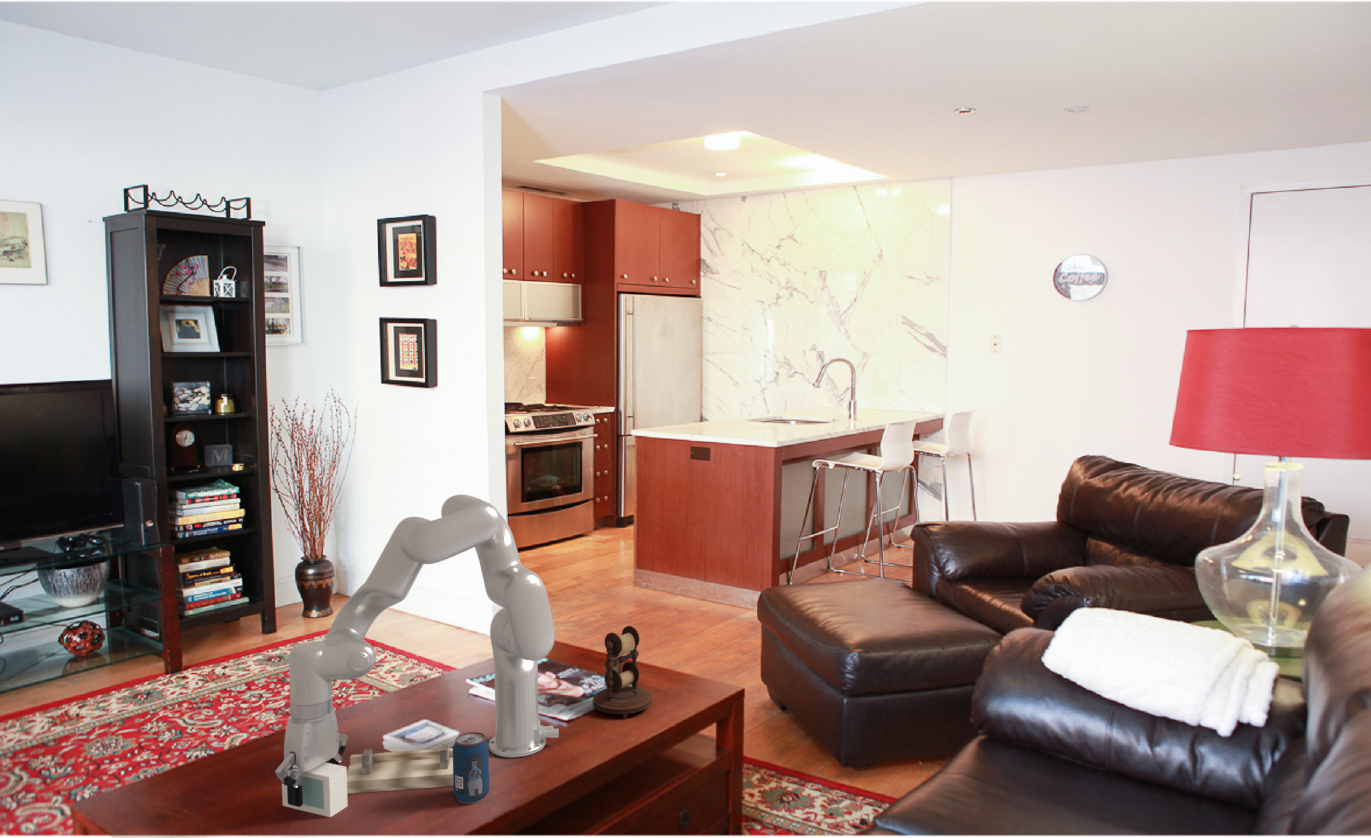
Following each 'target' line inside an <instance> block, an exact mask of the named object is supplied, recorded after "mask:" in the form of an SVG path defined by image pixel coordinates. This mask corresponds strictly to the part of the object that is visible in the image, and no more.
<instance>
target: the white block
mask: <svg viewBox="0 0 1371 838" xmlns="http://www.w3.org/2000/svg"><path fill="white" fill-rule="evenodd" d="M297 769H299V768H298V767H297ZM347 770H348V769H347V766H345V765H341V764H340V765H335V764H331V763H326V762H325V763H323V764H321V765H319V766H318V767H316V768H314V769H312V770H311V771H309V772H307V773H305V774H304V776H303V778H302V780H301V782H300V784H299V785H301V786H302V793H303V805H302V806H300V807H297V806H293V805H289V804H288V798H287V786H285V785H284V784H283V783H282V782H281V790H282V791H281V793H282V794H281V795H282V806H283V807H286V808H291V809H293V810H298V811H302V812H306V813H311V814H316V815H319V816H324V817H327V818H331V817H333V816H334V815H336V814H338V813H340V812H341V811H342V810H344V809H346V808H348V794H347ZM288 772H289V770H288V771H287V773H288ZM297 774H298V773H295V774H294V776H293V779H294V780H295V778H296V776H297Z"/></svg>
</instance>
